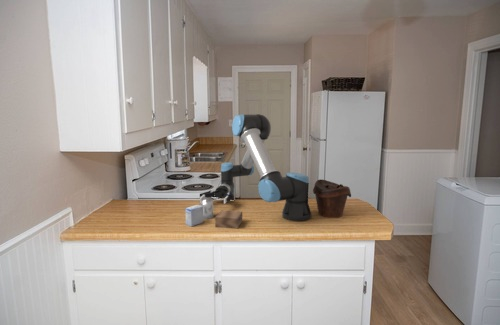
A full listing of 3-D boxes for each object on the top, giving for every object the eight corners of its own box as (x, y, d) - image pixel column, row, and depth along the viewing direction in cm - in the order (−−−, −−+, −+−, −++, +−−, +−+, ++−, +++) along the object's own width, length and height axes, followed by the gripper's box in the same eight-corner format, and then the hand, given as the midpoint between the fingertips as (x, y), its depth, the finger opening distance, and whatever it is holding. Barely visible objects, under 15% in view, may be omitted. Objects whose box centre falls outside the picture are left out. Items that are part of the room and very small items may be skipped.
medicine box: (197, 220, 176) (197, 204, 175) (203, 222, 173) (203, 206, 172) (185, 225, 170) (184, 208, 169) (191, 227, 167) (191, 209, 166)
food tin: (215, 215, 184) (214, 197, 183) (211, 219, 178) (211, 200, 176) (203, 214, 186) (202, 196, 184) (199, 218, 179) (198, 200, 177)
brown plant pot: (351, 220, 176) (353, 186, 173) (311, 218, 180) (312, 184, 177) (348, 210, 193) (350, 179, 191) (312, 208, 197) (313, 178, 195)
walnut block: (242, 221, 176) (242, 211, 175) (237, 228, 165) (237, 218, 164) (221, 219, 178) (221, 210, 177) (215, 227, 167) (215, 217, 166)
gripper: (242, 198, 209) (234, 208, 188) (203, 195, 214) (191, 205, 193) (242, 186, 208) (234, 195, 187) (203, 184, 212) (190, 192, 192)
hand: (212, 200), depth 190 cm, fingers open, 13 cm apart
